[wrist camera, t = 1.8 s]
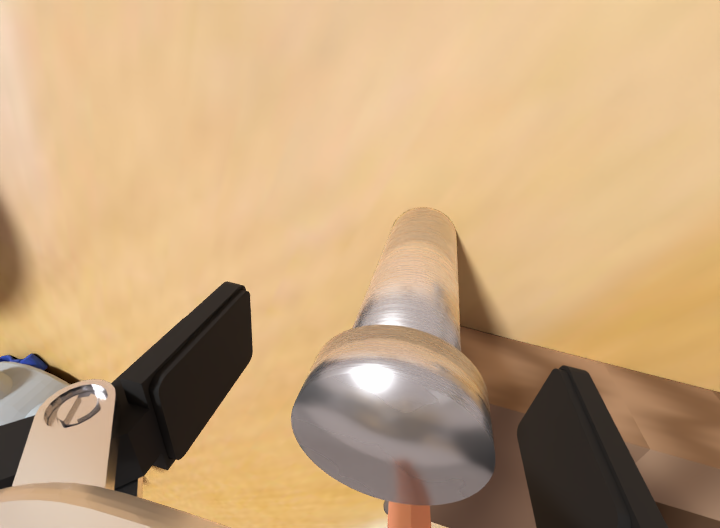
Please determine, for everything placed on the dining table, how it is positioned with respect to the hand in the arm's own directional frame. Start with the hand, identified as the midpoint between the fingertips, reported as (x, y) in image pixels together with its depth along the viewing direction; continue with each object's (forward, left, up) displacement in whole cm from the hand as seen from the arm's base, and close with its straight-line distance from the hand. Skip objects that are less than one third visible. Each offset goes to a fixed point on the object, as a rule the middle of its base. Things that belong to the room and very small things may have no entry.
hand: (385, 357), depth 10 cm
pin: (0, 0, -9) cm, 9 cm away
